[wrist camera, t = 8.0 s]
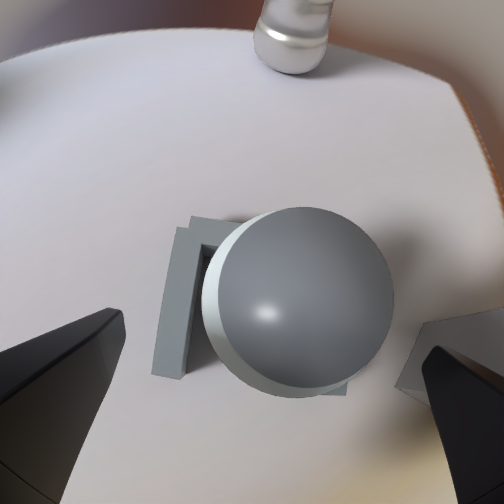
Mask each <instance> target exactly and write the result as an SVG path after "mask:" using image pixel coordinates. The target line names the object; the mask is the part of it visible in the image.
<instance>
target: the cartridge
mask: <svg viewBox="0 0 504 504" xmlns="http://www.w3.org/2000/svg"><path fill="white" fill-rule="evenodd" d="M393 306H394V293H393V285H392V280H391V276H390V272H389V269H388V267H387V264H386V261H385V260H384V258H383V256H382V254H381V252H380V250H379V249H378V247H377V246H376V244H375V243H374V242H373V241H372V239H371V238H370V237H369V236H368V235H367V234H366V233H365V232H364V231H363V230H362V229H361V228H360V227H358V226H357V225H356V224H354V223H353V222H351V221H350V220H348V219H346V218H344V217H343V216H341V215H338V214H336V213H333V212H331V211H327V210H323V209H318V208H312V207H296V208H288V209H284V210H276V211H272V212H268V213H264V214H262V215H259V216H257V217H254V218H252V219H251V220H249V221H247V222H245V223H243V224H242V225H241V226H239V227H238V228H237V229H235V230H234V231H233V232H232V233H231V234H230V235H229V236H228V237H227V238H226V239H225V240H224V241H223V243H222V244H221V245H220V246H219V248H218V249H217V251H216V252H215V254H214V256H213V258H212V259H211V262H210V264H209V266H208V269H207V271H206V275H205V279H204V283H203V289H202V315H203V321H204V326H205V329H206V332H207V335H208V338H209V340H210V342H211V344H212V347H213V349H214V350H215V352H216V353H217V355H218V357H219V358H220V360H221V361H222V362H223V363H224V364H225V366H226V367H227V368H228V369H229V370H230V371H231V372H232V373H233V374H234V375H236V376H237V377H238V378H239V379H240V380H242V381H243V382H245V383H246V384H248V385H249V386H251V387H253V388H255V389H257V390H260V391H262V392H265V393H268V394H271V395H274V396H280V397H286V398H305V397H313V396H317V395H321V394H324V393H327V392H329V391H332V390H334V389H336V388H338V387H340V386H342V385H343V384H345V383H347V382H348V381H349V380H351V379H352V378H353V377H354V376H356V375H357V374H358V373H359V372H360V371H361V370H362V369H363V368H364V367H365V366H366V365H367V363H368V362H369V361H370V360H371V359H372V358H373V357H374V356H375V354H376V353H377V352H378V350H379V349H380V347H381V345H382V344H383V342H384V340H385V338H386V335H387V333H388V330H389V328H390V324H391V320H392V315H393Z"/></svg>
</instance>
